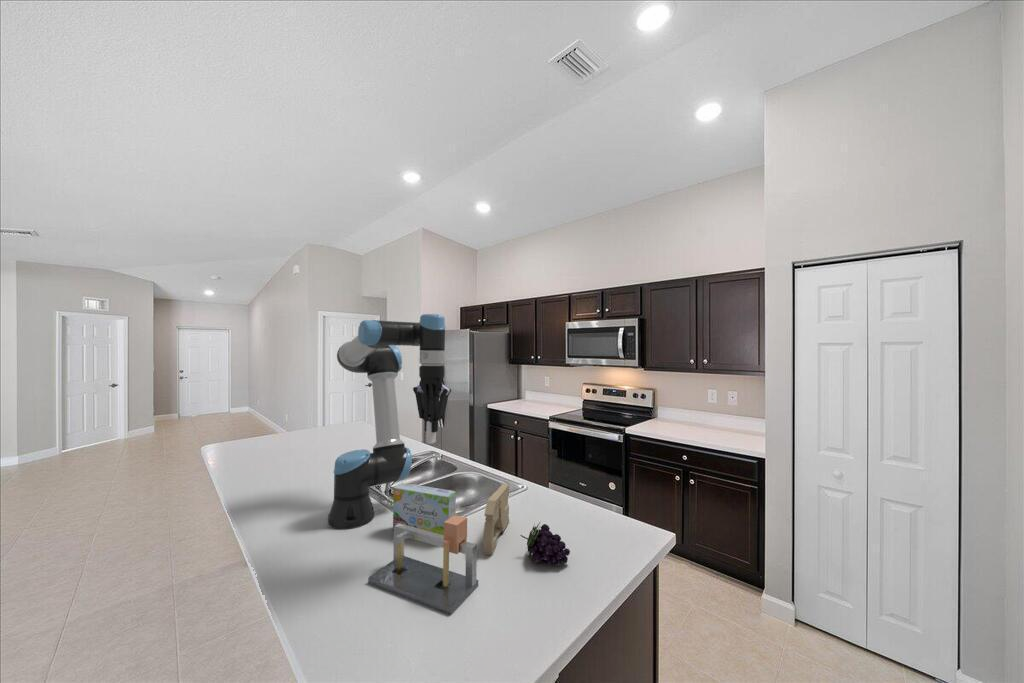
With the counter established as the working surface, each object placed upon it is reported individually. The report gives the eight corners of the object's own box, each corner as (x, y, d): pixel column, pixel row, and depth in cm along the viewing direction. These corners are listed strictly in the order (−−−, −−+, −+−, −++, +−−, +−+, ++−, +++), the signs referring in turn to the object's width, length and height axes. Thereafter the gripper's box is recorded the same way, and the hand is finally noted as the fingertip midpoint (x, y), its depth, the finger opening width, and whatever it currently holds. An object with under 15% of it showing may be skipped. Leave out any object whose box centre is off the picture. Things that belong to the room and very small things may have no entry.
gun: (492, 558, 110) (493, 504, 112) (481, 556, 111) (483, 503, 112) (509, 527, 134) (510, 483, 135) (500, 526, 134) (501, 483, 136)
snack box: (391, 533, 125) (392, 487, 125) (401, 525, 130) (402, 481, 130) (447, 545, 117) (448, 496, 118) (456, 536, 123) (457, 489, 123)
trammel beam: (383, 571, 102) (383, 531, 103) (398, 560, 108) (398, 523, 108) (463, 599, 91) (464, 555, 91) (476, 586, 96) (476, 544, 96)
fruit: (561, 582, 104) (511, 560, 108) (568, 556, 114) (522, 536, 118) (570, 551, 102) (518, 529, 106) (576, 527, 112) (528, 508, 116)
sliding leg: (437, 584, 95) (438, 525, 95) (454, 569, 101) (454, 514, 101) (451, 589, 93) (451, 529, 93) (466, 574, 99) (467, 517, 99)
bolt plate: (368, 583, 98) (368, 577, 98) (400, 560, 109) (400, 555, 109) (450, 615, 86) (451, 608, 86) (478, 585, 97) (478, 580, 97)
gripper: (407, 364, 115) (405, 442, 114) (441, 365, 109) (440, 448, 108) (423, 364, 121) (422, 437, 121) (456, 365, 116) (456, 442, 115)
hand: (431, 442), depth 115 cm, fingers closed
